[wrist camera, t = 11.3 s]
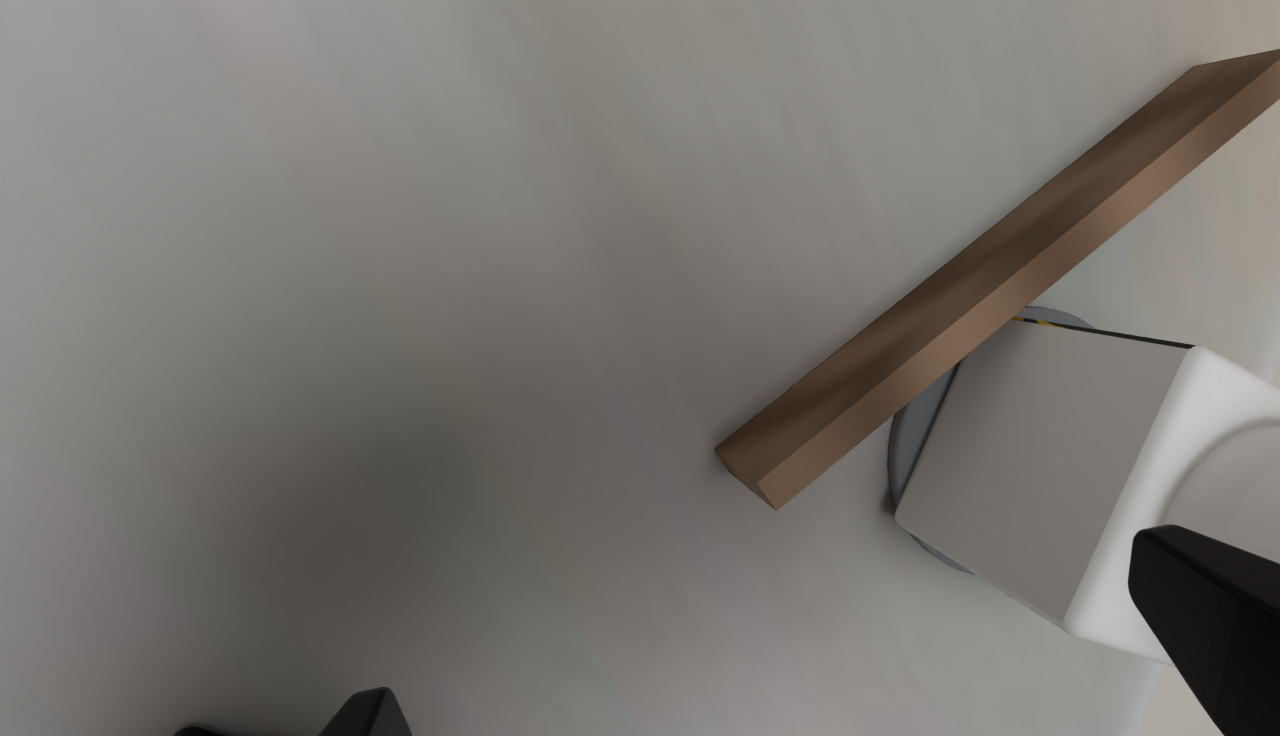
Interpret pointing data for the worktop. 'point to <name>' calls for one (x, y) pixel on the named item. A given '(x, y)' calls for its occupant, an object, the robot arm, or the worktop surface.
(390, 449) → the worktop surface
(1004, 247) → the board
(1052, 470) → the medicine bottle
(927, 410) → the mat
